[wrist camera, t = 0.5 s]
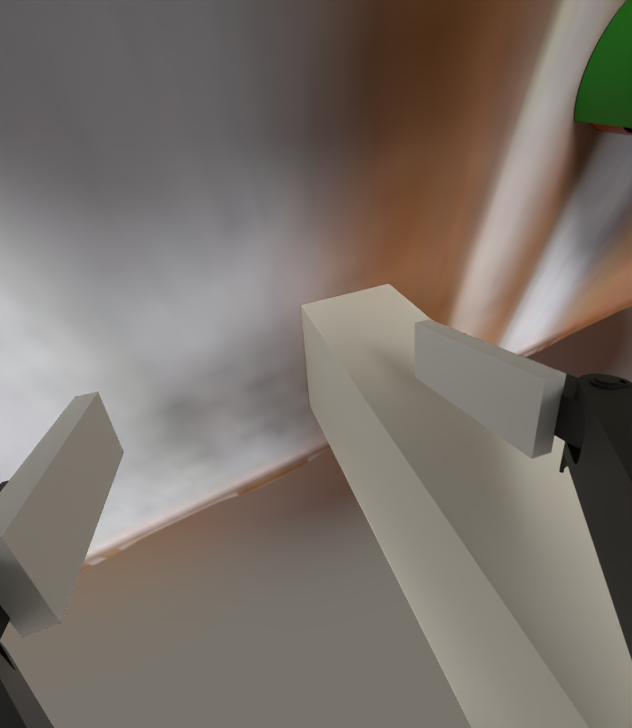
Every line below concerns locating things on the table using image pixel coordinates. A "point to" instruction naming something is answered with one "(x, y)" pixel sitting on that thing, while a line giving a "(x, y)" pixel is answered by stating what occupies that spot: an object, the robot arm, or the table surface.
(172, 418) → the table surface
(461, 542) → the stand
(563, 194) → the table surface
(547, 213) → the table surface
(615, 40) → the motor
